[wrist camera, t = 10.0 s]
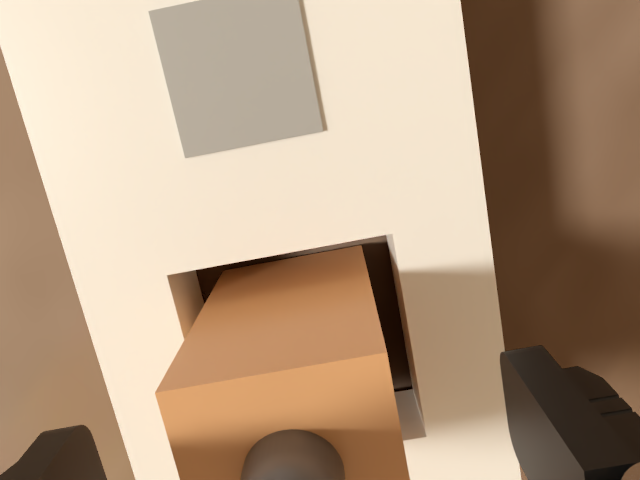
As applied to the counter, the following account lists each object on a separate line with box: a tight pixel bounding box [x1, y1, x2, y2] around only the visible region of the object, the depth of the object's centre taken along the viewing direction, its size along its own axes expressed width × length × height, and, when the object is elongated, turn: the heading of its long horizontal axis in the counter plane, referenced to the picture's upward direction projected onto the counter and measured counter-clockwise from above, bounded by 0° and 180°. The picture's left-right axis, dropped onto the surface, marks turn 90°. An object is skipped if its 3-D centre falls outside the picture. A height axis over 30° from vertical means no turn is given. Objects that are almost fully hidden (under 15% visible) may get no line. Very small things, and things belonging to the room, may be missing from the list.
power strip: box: [0, 0, 521, 480], centre depth 15 cm, size 16×10×3 cm, turn 11°
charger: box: [155, 245, 410, 480], centre depth 13 cm, size 4×4×9 cm
